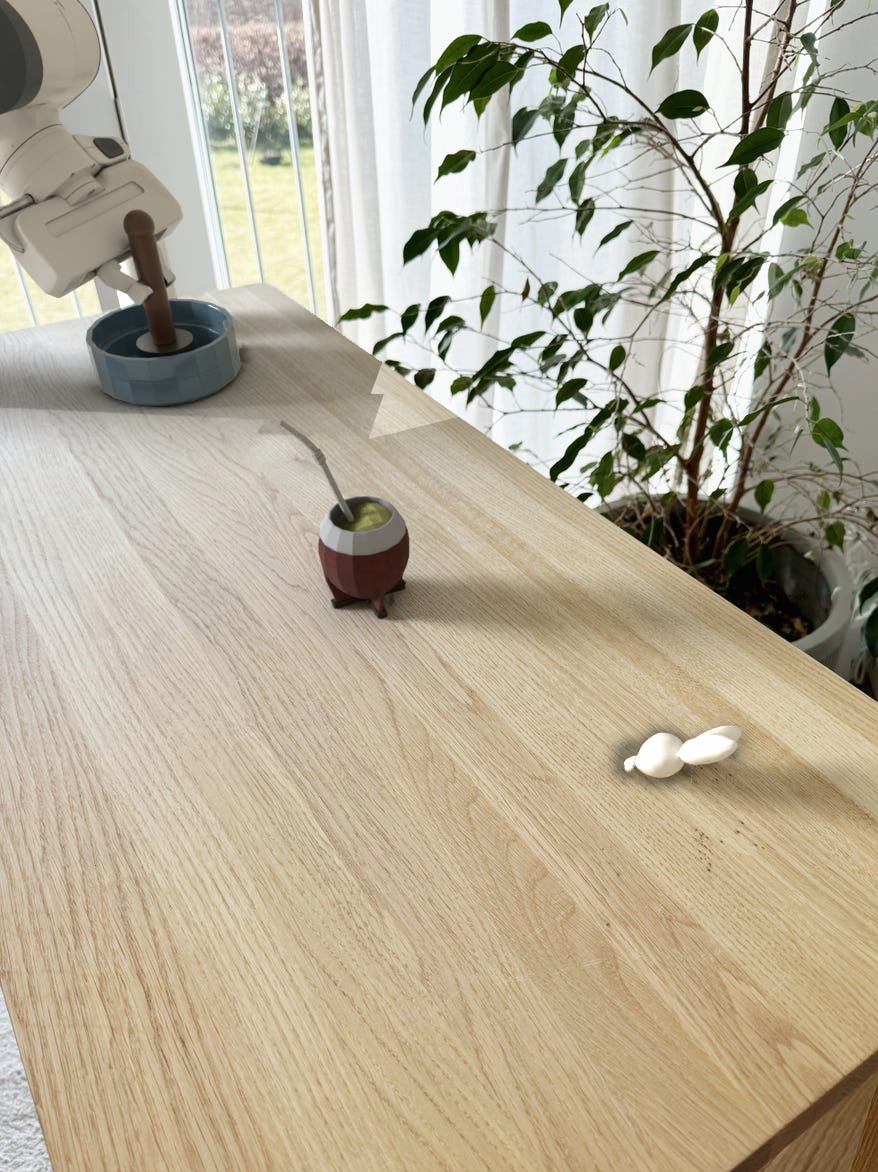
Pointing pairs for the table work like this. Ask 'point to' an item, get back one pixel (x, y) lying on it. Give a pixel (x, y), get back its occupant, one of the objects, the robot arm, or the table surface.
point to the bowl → (164, 375)
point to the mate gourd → (359, 544)
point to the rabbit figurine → (683, 751)
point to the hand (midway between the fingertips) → (158, 292)
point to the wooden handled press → (154, 291)
